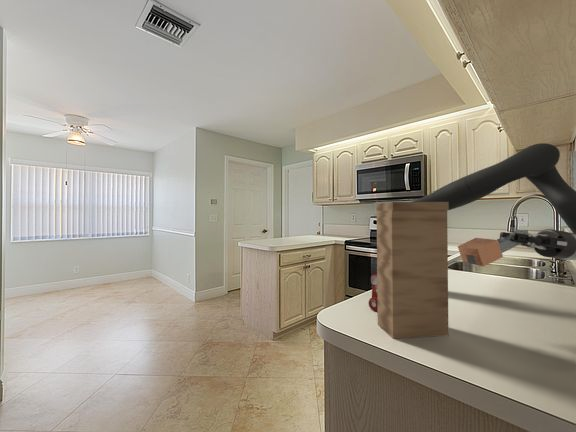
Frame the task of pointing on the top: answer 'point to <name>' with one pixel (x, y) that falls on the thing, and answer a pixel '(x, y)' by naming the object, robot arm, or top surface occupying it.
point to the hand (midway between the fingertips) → (507, 236)
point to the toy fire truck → (374, 294)
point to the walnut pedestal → (412, 268)
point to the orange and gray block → (487, 249)
